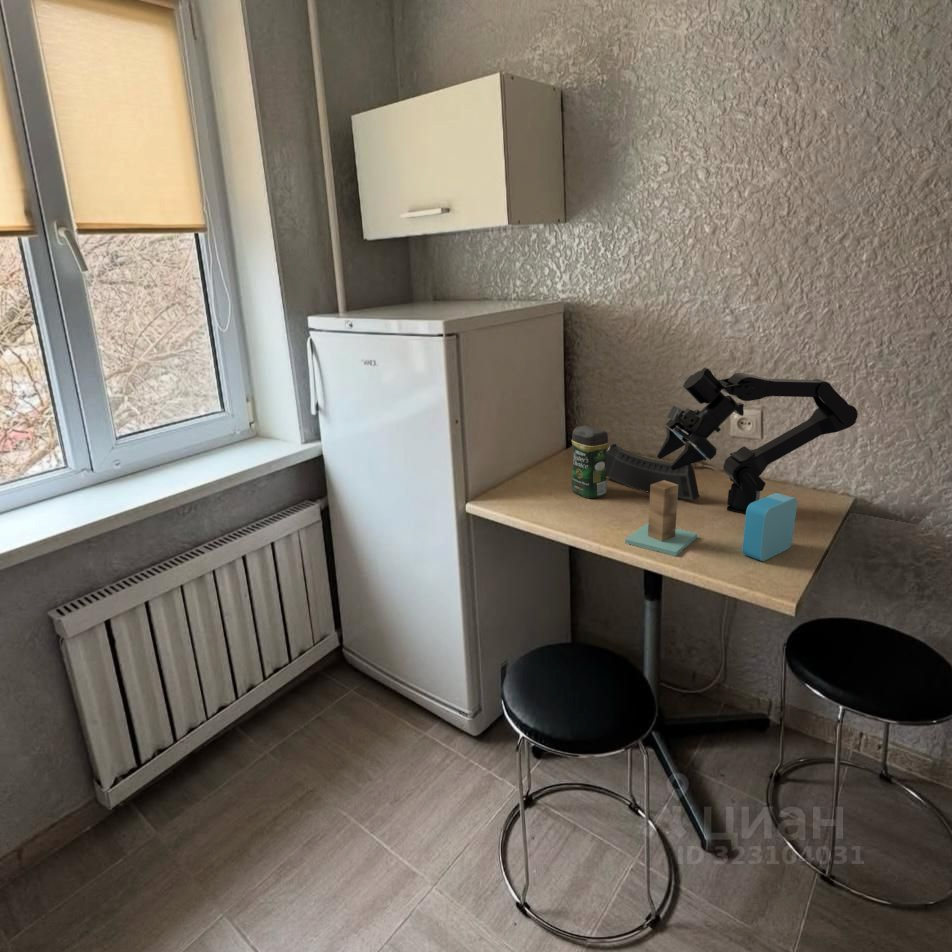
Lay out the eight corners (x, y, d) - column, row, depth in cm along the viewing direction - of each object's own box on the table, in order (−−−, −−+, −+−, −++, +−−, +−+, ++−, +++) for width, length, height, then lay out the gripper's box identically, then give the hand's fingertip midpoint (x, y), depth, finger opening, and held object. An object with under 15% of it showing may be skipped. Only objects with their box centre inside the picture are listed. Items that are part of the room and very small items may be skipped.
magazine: (710, 470, 167) (618, 420, 184) (703, 474, 165) (611, 422, 182) (688, 525, 176) (602, 471, 193) (682, 528, 174) (595, 474, 191)
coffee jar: (566, 491, 182) (566, 426, 176) (588, 485, 186) (589, 421, 180) (589, 501, 175) (590, 433, 169) (611, 495, 178) (613, 428, 172)
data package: (772, 541, 147) (778, 491, 143) (792, 547, 144) (798, 496, 140) (740, 556, 141) (746, 504, 137) (760, 563, 137) (766, 510, 133)
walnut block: (661, 531, 152) (664, 480, 148) (675, 536, 149) (678, 484, 145) (647, 536, 150) (650, 484, 146) (661, 541, 147) (664, 489, 143)
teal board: (697, 537, 150) (697, 533, 150) (675, 556, 142) (676, 552, 141) (648, 525, 158) (648, 522, 157) (625, 543, 149) (625, 539, 149)
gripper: (675, 386, 164) (631, 432, 167) (707, 402, 146) (656, 453, 149) (704, 415, 167) (659, 459, 170) (738, 434, 149) (687, 483, 152)
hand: (664, 463), depth 160 cm, fingers open, 9 cm apart
